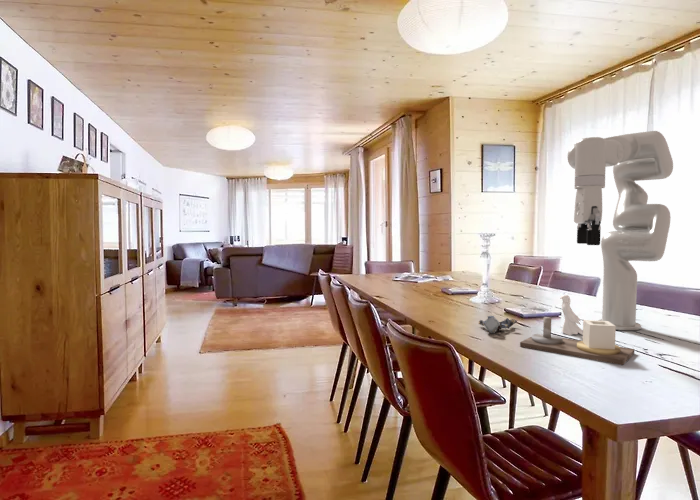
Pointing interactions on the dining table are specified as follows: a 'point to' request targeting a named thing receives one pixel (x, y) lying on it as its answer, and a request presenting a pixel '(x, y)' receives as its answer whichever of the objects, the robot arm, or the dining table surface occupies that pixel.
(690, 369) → the dining table surface
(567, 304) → the figurine
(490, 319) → the toy
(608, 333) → the collar
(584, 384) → the dining table surface
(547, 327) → the workboard
